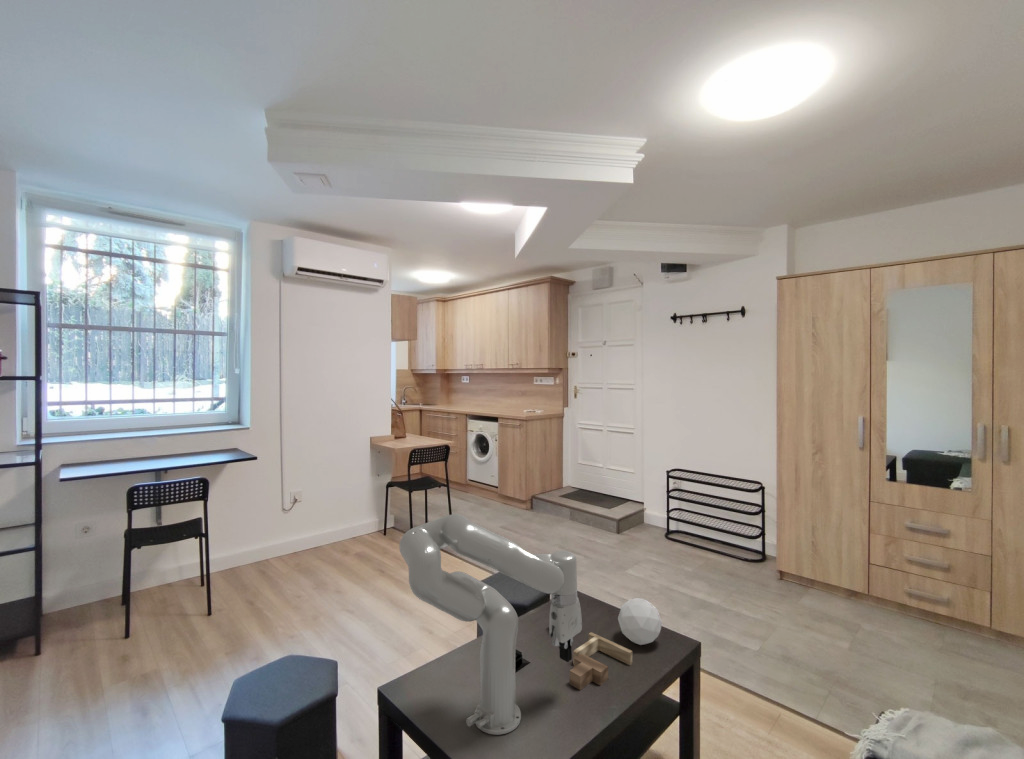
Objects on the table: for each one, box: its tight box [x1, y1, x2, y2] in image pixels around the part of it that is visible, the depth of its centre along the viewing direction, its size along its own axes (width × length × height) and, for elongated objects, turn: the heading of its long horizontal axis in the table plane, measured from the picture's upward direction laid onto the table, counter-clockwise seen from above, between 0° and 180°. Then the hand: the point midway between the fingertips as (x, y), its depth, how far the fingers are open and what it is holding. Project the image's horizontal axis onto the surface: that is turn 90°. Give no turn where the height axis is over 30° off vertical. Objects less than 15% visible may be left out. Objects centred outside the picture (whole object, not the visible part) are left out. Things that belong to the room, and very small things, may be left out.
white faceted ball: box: [617, 597, 663, 646], centre depth 164 cm, size 14×15×15 cm
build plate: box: [515, 648, 531, 674], centre depth 150 cm, size 12×7×5 cm, turn 138°
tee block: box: [569, 653, 609, 691], centre depth 143 cm, size 10×10×4 cm
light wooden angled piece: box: [572, 631, 633, 666], centre depth 152 cm, size 14×16×4 cm
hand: (565, 658), depth 136 cm, fingers closed
